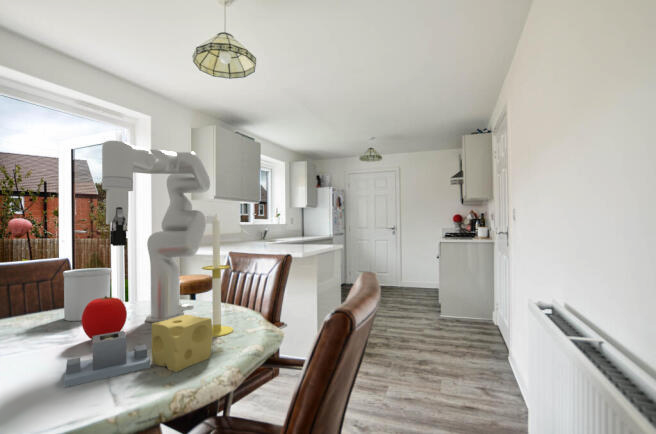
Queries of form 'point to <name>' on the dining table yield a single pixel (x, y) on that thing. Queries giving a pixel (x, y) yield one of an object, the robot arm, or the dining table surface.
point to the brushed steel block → (109, 350)
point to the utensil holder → (84, 289)
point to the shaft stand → (84, 369)
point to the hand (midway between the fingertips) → (118, 244)
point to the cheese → (181, 341)
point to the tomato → (103, 316)
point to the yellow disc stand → (217, 283)
